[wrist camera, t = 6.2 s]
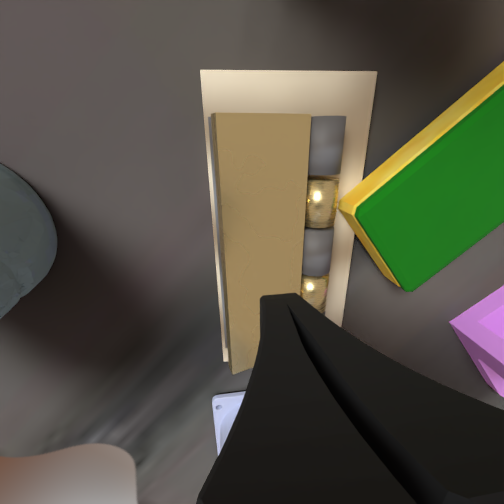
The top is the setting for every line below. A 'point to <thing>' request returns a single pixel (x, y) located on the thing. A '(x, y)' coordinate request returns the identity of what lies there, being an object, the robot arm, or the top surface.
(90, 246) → the top surface
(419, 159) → the dish sponge
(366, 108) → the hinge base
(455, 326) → the bracket
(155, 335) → the top surface
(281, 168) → the strip
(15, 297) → the drinking glass
